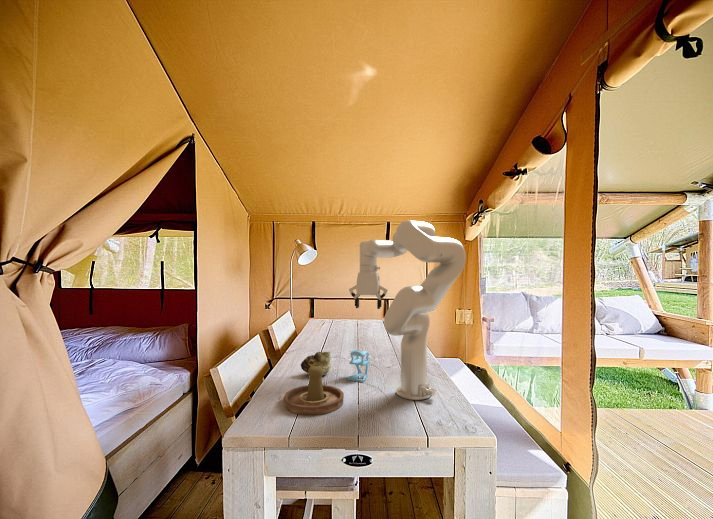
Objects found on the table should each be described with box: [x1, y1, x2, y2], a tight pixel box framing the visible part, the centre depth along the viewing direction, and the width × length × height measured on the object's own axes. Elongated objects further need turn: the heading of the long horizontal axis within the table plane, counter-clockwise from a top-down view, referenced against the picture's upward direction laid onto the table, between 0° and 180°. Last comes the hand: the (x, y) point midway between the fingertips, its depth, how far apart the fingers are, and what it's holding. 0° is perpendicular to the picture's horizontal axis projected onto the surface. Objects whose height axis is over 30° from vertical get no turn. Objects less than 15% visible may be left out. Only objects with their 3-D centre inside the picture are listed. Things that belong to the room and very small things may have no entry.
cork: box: [307, 366, 324, 402], centre depth 114 cm, size 6×6×11 cm
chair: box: [346, 349, 371, 383], centre depth 139 cm, size 8×8×12 cm
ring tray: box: [283, 384, 344, 416], centre depth 114 cm, size 20×20×2 cm
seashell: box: [300, 351, 332, 376], centre depth 143 cm, size 11×11×10 cm
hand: (368, 308), depth 146 cm, fingers open, 9 cm apart
